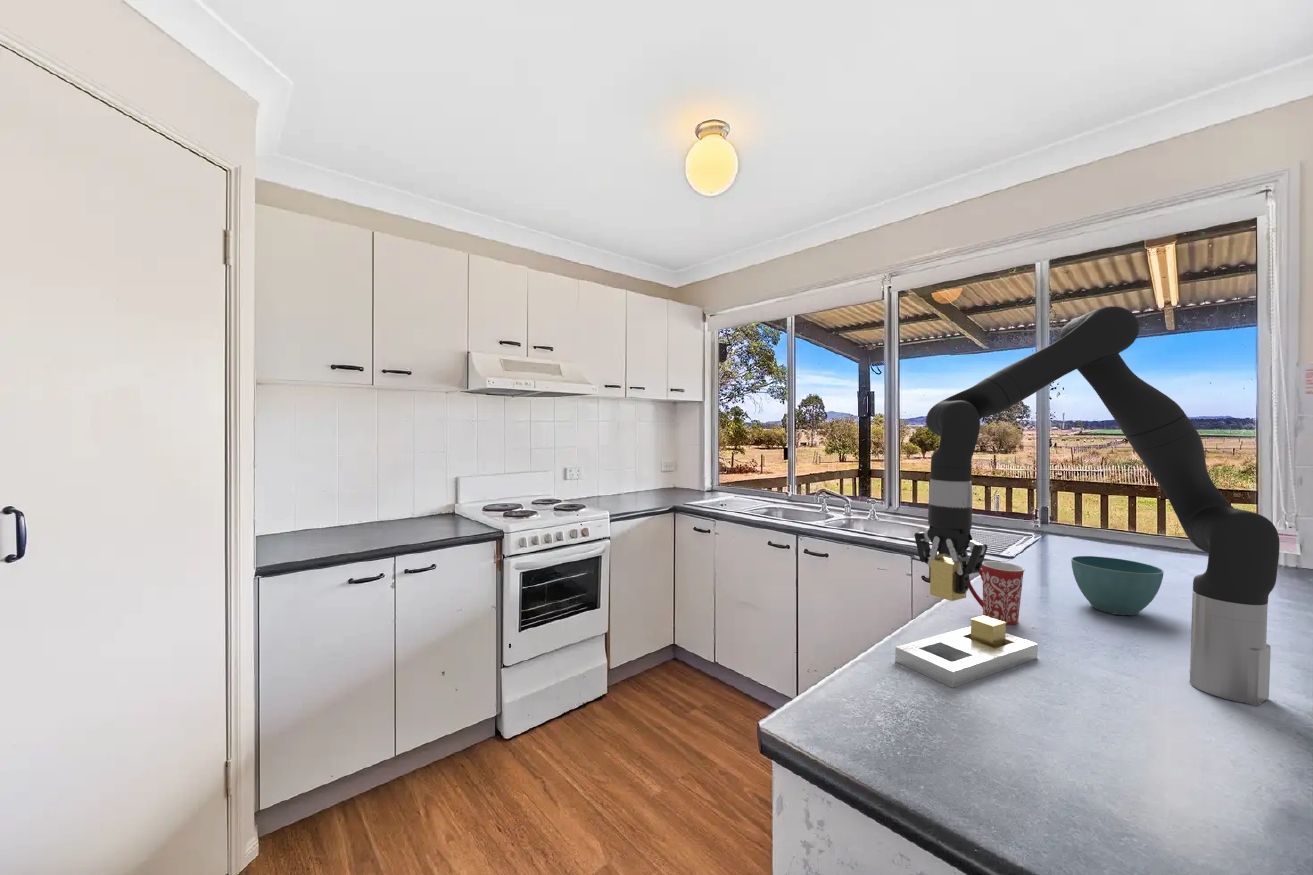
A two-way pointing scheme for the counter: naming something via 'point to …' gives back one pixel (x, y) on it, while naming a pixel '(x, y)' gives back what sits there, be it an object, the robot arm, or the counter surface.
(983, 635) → the seated brass block
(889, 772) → the counter surface
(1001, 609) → the mug
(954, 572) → the brass block
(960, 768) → the counter surface
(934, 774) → the counter surface
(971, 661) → the white socket board
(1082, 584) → the teal bowl
